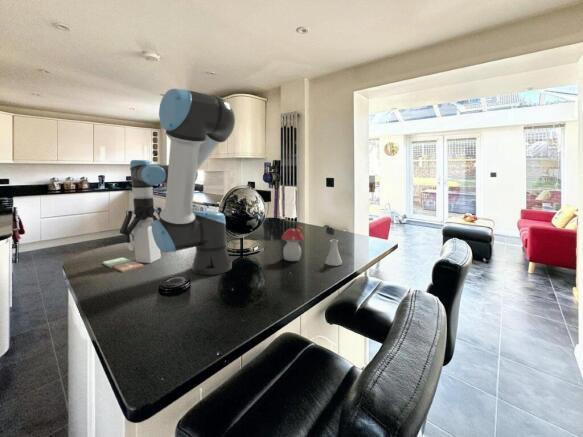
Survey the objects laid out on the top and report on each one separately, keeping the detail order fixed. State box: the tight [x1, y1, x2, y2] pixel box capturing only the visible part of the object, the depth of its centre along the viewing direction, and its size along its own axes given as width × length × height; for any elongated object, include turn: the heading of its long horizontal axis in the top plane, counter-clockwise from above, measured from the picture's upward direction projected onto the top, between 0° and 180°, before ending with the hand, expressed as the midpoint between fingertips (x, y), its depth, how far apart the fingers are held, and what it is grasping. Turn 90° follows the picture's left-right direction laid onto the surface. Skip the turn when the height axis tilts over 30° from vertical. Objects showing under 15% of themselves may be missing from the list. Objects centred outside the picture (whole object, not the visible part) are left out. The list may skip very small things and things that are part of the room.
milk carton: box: [132, 218, 162, 264], centre depth 127 cm, size 7×7×19 cm
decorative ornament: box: [281, 225, 304, 262], centre depth 128 cm, size 9×7×15 cm
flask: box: [324, 239, 343, 267], centre depth 123 cm, size 7×7×10 cm
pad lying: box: [113, 260, 144, 273], centre depth 120 cm, size 8×8×1 cm
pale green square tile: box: [102, 256, 132, 268], centre depth 125 cm, size 8×8×1 cm
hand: (147, 246), depth 128 cm, fingers open, 13 cm apart
